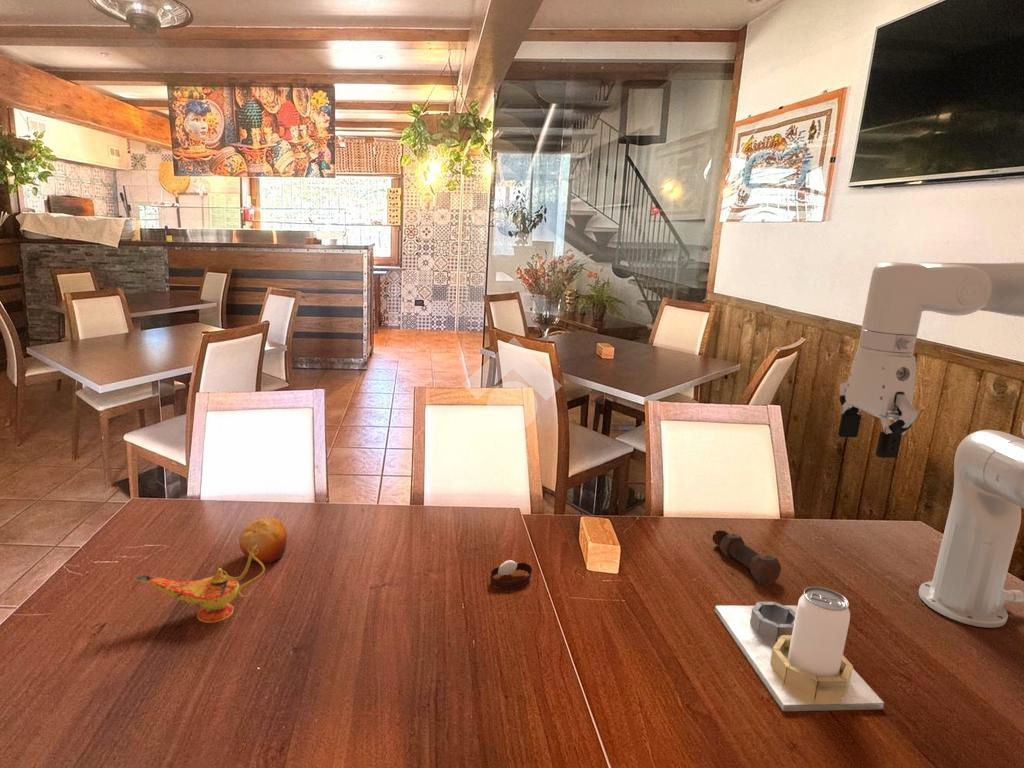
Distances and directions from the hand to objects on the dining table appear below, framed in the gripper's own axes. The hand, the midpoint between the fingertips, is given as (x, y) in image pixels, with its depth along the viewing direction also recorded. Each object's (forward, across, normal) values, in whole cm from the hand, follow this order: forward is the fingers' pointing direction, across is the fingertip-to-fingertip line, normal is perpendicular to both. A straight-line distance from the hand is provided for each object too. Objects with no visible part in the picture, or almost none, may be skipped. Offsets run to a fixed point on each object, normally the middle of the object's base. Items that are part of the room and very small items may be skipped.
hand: (865, 446), depth 100 cm
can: (+28, -19, +16) cm, 37 cm away
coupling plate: (+28, -14, +16) cm, 35 cm away
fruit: (+28, +14, +100) cm, 105 cm away
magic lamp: (+28, -3, +104) cm, 108 cm away
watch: (+29, +6, +56) cm, 63 cm away
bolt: (+29, +12, +11) cm, 33 cm away
